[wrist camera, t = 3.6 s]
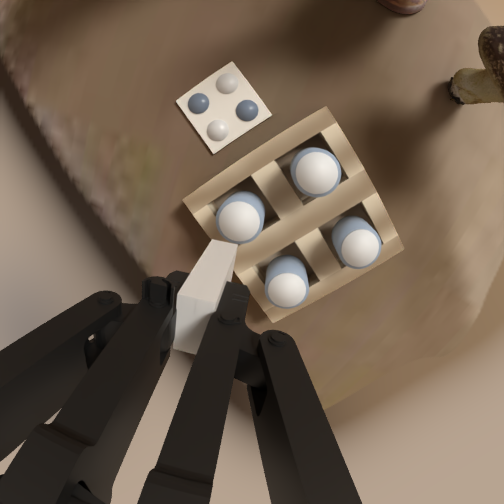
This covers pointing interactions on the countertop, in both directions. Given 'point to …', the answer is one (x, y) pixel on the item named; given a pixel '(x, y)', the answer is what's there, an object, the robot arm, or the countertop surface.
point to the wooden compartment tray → (297, 211)
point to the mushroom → (482, 72)
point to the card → (223, 107)
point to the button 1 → (241, 217)
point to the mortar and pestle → (404, 5)
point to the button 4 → (356, 242)
